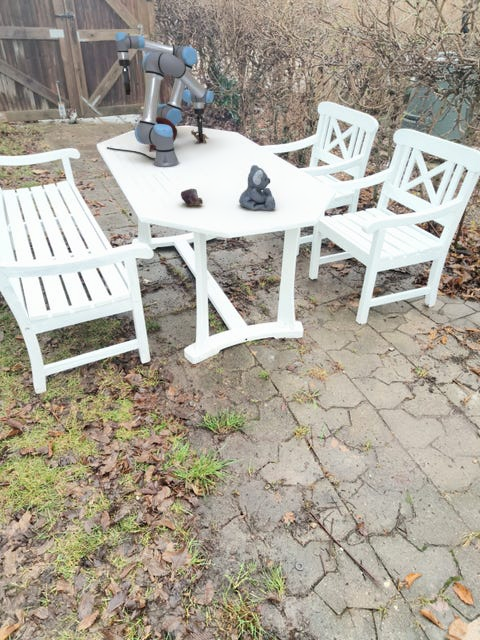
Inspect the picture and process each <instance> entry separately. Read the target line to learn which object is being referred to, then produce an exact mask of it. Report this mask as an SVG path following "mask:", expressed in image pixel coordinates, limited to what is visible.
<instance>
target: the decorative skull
mask: <svg viewBox="0 0 480 640" xmlns="http://www.w3.org/2000/svg"><path fill="white" fill-rule="evenodd" d="M156 122H157V124H165V125H169V126H170V127H171V128H172V131H173V141H174V142H175V141H176V139H177V135H178V129H177V127H176V125H174V124H173V123H172V122H170V121H169V120H168V119H166V118H162V117H158V116H156ZM148 146H149V151H148V152H152V149H155V150H156V146H153V145H148Z"/></svg>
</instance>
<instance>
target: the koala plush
mask: <svg viewBox="0 0 480 640" xmlns="http://www.w3.org/2000/svg"><path fill="white" fill-rule="evenodd" d="M270 183H271V178H269V176H268V175H267V173H266V172H265V170H264V169H263V168H261V167H259V165H257V164H253V165H250V170H249V173H248V176H247V188H246V189H245V190H244V191H243V192H242V193H241V194H240V197H239V199H238V203H239V204H240V206H241V207H242V208H246V209H247V210H252V211H255V210H261V211H272V210H274V209H275V208H276V200H275V198H274V196H273V194H272V191H271V188H270V187H268V186H269V185H270Z"/></svg>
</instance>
